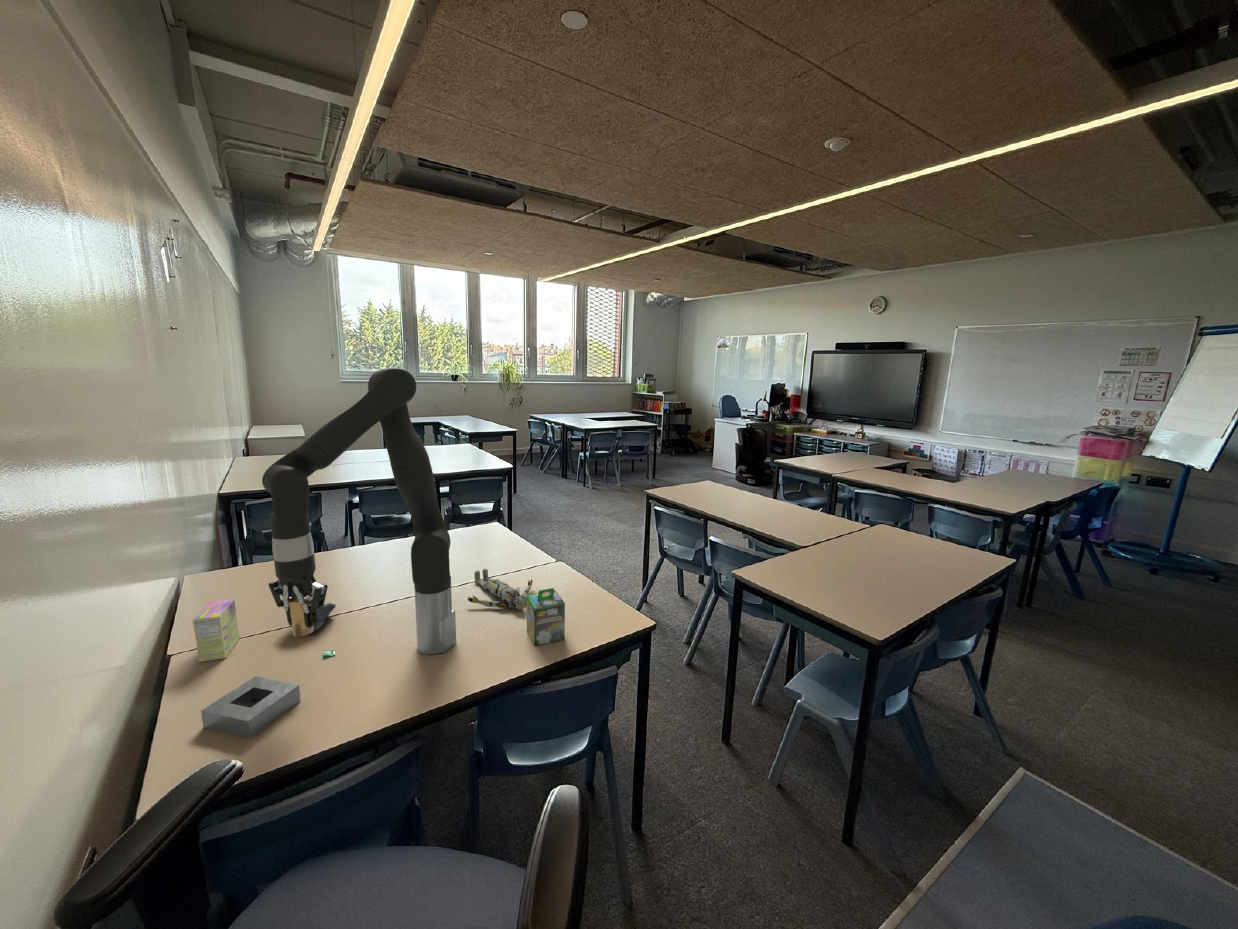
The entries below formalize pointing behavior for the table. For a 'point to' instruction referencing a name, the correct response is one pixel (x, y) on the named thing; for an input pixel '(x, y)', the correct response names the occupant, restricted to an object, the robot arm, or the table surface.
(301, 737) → the table surface
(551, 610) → the chalk box
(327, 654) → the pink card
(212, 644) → the box
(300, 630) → the cylinder
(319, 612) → the rock
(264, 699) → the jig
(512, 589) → the action figure
